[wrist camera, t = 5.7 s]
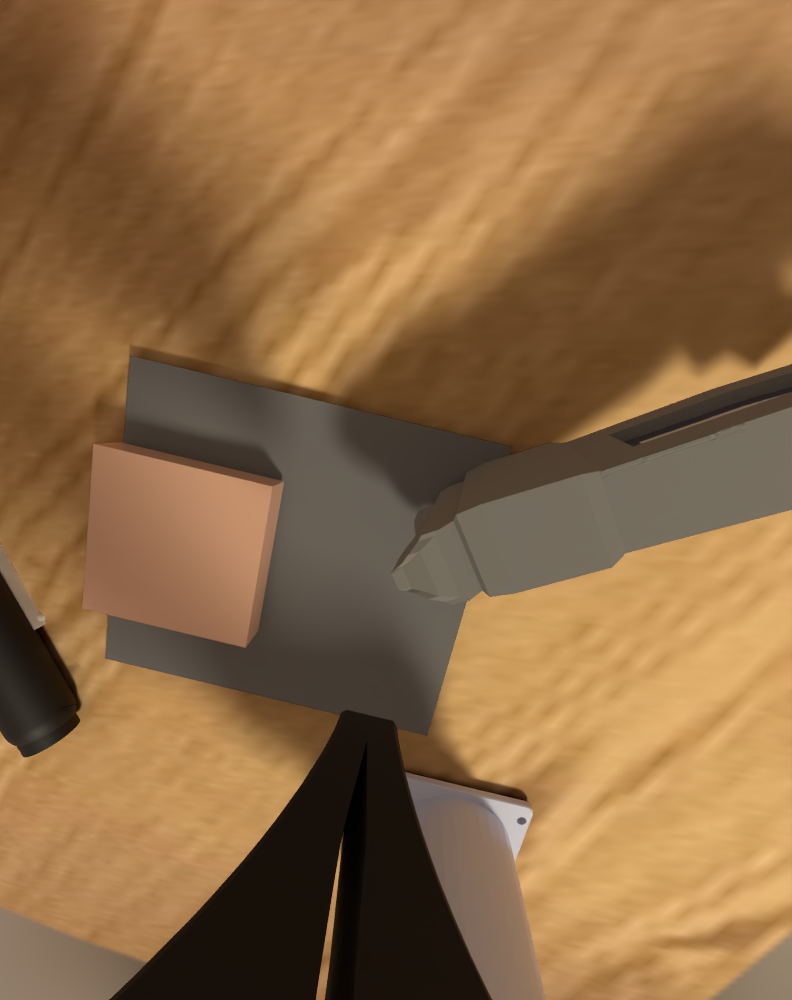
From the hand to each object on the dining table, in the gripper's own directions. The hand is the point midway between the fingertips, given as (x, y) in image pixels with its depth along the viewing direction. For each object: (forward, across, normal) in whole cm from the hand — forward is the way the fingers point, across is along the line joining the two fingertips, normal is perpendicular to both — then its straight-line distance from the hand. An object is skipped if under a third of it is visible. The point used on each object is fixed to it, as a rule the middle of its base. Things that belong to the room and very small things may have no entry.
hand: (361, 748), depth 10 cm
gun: (+10, -11, -11) cm, 19 cm away
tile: (+9, +6, 0) cm, 11 cm away
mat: (+10, +5, 0) cm, 12 cm away
